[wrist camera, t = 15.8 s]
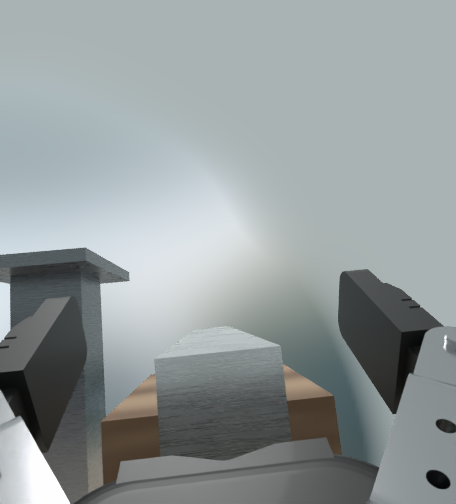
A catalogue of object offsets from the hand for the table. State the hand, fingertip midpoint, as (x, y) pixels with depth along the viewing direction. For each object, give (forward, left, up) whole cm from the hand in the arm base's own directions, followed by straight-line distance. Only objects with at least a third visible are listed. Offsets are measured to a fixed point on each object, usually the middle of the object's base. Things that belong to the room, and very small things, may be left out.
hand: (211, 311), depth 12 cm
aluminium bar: (+5, +9, -4) cm, 11 cm away
